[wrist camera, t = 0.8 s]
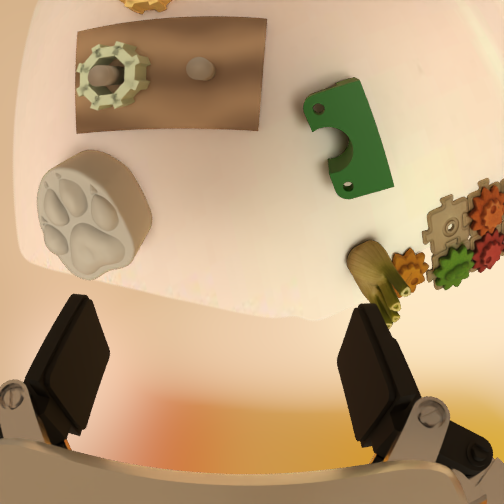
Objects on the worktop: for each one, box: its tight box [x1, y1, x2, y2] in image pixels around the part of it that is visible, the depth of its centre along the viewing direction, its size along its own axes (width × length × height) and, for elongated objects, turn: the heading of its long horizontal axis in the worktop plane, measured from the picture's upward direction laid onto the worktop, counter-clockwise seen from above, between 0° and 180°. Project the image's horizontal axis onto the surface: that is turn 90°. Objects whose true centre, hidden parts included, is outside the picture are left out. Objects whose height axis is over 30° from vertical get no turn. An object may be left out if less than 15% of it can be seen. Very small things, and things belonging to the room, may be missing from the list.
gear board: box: [75, 16, 267, 134], centre depth 24 cm, size 12×20×7 cm, turn 86°
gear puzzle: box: [392, 178, 504, 298], centre depth 37 cm, size 31×16×4 cm, turn 114°
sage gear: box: [76, 41, 151, 110], centre depth 24 cm, size 7×7×4 cm
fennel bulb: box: [347, 240, 411, 329], centre depth 34 cm, size 6×5×12 cm
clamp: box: [303, 77, 394, 199], centre depth 29 cm, size 12×6×9 cm, turn 19°
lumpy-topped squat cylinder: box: [37, 150, 152, 280], centre depth 31 cm, size 10×13×9 cm
